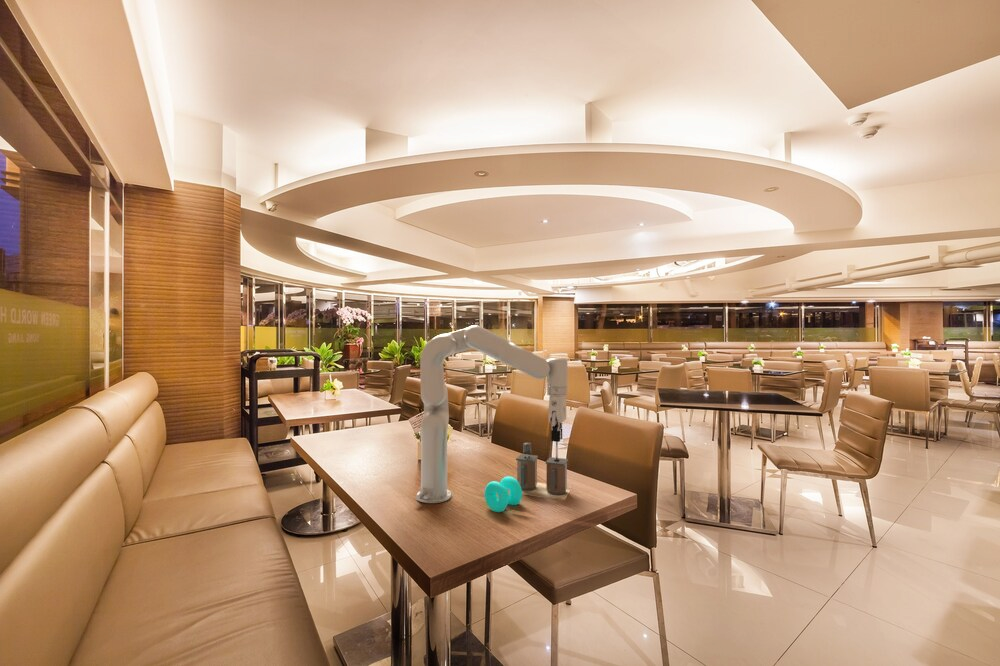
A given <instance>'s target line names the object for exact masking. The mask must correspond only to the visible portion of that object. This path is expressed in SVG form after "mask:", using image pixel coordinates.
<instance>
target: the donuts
mask: <svg viewBox="0 0 1000 666" xmlns="http://www.w3.org/2000/svg"><path fill="white" fill-rule="evenodd" d="M522 499H523V494H522V489H521V486H520V484H519V482H518V481H517V478H515V477H513V476H504V477H503V478H501V480H500V482H499V481H494V480H493V481H490V482H488V483H487V485H486V486H485V488H484V500H485V502H486V505H487V507H488V508H489V509H490V510H491V511H493V512H495V513H502V512H504V510H506V509H507V506H508V505H512V506H517V505H518V504H520V503H521V501H522Z"/></svg>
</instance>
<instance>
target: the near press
mask: <svg viewBox="0 0 1000 666" xmlns="http://www.w3.org/2000/svg"><path fill="white" fill-rule="evenodd" d="M545 464H546V489H547V492H548V493H549V494H552V495H563V494H565V493H566V489H567V486H568V485H567V483H568V482H567V481H568V480H567V478H568V477H567V475H568V474H567V473H568V469H567V467H568V465H567V464H568V458H561V457H558V462H556V457H554V456H550V457H548V459H547V460H546V461H545Z"/></svg>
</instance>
